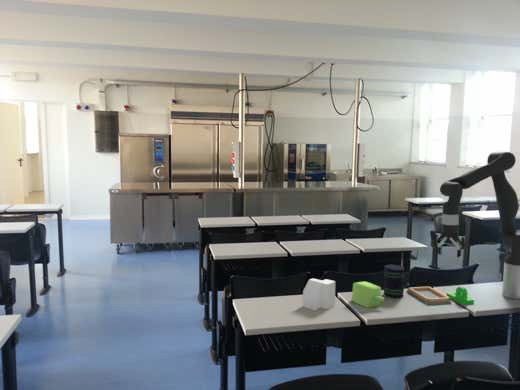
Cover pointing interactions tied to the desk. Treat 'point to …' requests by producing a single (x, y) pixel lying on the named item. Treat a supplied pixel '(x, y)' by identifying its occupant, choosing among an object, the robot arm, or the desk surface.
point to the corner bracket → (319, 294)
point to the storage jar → (393, 281)
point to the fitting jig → (429, 295)
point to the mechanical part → (461, 296)
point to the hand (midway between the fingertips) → (449, 255)
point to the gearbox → (366, 294)
